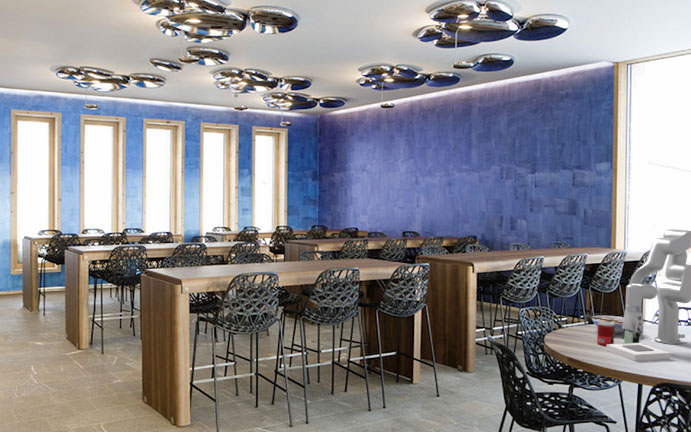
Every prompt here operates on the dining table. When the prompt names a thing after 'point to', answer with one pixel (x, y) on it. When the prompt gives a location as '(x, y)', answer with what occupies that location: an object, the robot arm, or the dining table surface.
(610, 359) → the dining table surface
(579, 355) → the dining table surface
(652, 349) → the base board
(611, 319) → the ramen bowl
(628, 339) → the green block
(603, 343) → the canned food
